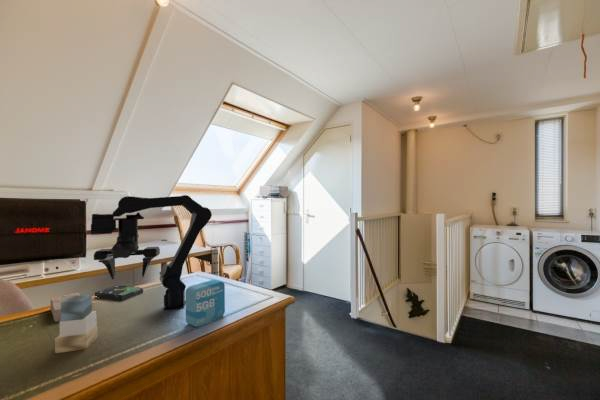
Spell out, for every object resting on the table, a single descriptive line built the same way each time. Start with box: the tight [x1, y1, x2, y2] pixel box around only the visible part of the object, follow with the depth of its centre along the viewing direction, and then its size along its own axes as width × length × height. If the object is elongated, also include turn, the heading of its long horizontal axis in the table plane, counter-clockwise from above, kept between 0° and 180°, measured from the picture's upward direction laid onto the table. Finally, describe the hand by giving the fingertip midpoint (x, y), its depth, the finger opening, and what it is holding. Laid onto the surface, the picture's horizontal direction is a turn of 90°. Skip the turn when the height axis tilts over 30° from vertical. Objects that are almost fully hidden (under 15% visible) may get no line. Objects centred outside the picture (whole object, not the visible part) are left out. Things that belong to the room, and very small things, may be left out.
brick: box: [50, 292, 81, 323], centre depth 99 cm, size 17×8×5 cm, turn 45°
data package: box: [185, 279, 226, 328], centre depth 91 cm, size 12×4×12 cm, turn 144°
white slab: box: [59, 310, 98, 337], centre depth 77 cm, size 6×6×4 cm
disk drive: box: [94, 284, 144, 302], centre depth 117 cm, size 10×3×15 cm
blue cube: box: [61, 294, 93, 321], centre depth 76 cm, size 5×5×5 cm
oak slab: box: [54, 323, 99, 354], centre depth 77 cm, size 7×7×4 cm
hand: (128, 278), depth 95 cm, fingers open, 9 cm apart
